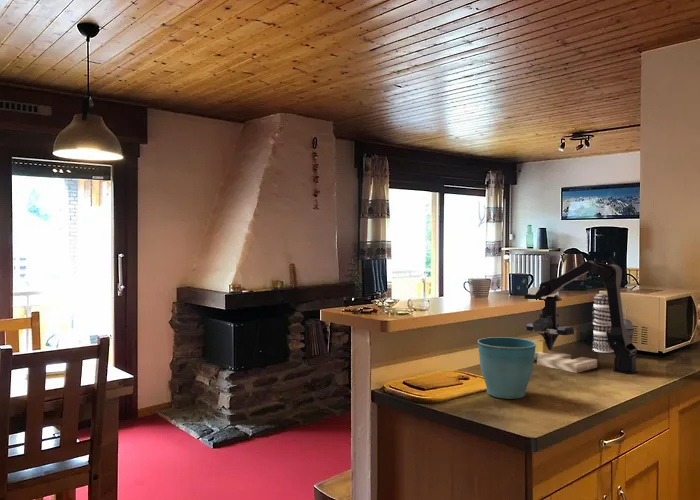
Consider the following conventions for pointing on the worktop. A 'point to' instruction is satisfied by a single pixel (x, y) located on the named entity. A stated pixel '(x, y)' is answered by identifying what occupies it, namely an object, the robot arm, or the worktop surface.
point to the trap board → (564, 361)
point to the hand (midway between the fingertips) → (549, 349)
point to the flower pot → (506, 365)
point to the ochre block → (541, 346)
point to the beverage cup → (629, 326)
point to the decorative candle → (601, 323)
